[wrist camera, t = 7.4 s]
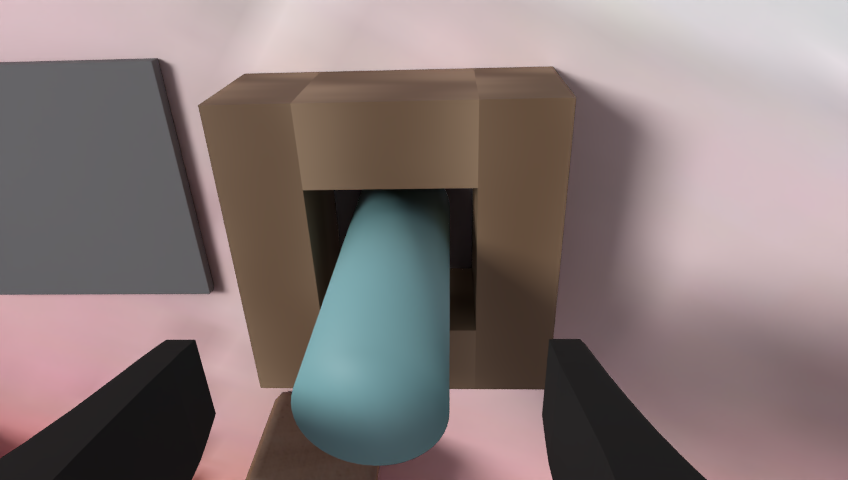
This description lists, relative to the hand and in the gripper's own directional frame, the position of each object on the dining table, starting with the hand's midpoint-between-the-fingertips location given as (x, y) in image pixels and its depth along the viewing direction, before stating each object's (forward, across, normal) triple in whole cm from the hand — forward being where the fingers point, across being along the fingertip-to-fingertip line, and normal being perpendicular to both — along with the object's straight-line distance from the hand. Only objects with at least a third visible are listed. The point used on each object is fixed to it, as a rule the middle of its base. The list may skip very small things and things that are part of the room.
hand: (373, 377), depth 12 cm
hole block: (+8, 0, 0) cm, 8 cm away
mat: (+8, +11, -1) cm, 14 cm away
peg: (+8, 0, 0) cm, 8 cm away
